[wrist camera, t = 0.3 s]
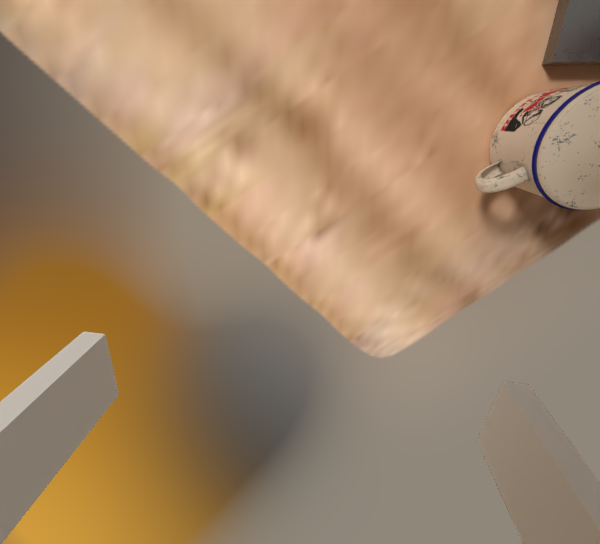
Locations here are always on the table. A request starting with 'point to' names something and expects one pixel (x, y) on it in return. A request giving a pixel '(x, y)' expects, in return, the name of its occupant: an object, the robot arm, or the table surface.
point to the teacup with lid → (549, 148)
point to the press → (575, 34)
